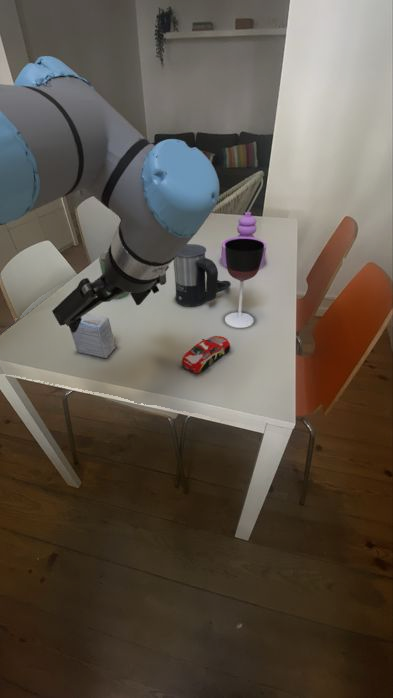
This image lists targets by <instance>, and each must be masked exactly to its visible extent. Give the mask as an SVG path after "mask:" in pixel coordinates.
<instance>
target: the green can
mask: <svg viewBox="0 0 393 698" xmlns="http://www.w3.org/2000/svg"><path fill="white" fill-rule="evenodd" d="M106 254H107V251H105V252H102V253H101V254H100V255H99V257H98V262H99V266H100V270H101V271H100V272H101V275H102V274H103V273H104V261H105V256H106ZM106 292H107V291H106ZM107 294H108V295H110V294H111V293H110V292H107ZM129 294H130V292H126V293H124V294H122V295H118V296H117V297H115V298H114V299H113V300H116V299H117V300H118V299H122V298H125V297H127V296H128V295H129Z"/></svg>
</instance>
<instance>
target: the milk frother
mask: <svg viewBox="0 0 393 698" xmlns="http://www.w3.org/2000/svg"><path fill="white" fill-rule="evenodd" d="M206 252H207V248H206V246H204V245H201V244H196V243H187V244H186V245H185V247H184V248H183V249H182V250H181V251H180V252H179V254H178V255H177V256H176V257H175V258H174V259H173V261H172V262H173V270H174V271H173V272H174V283H175V299H174V300H175V302H176V303H177V304H179V305H180V306H183V307H184V306H185V307H196V306H200V305H203V304H204V303H206V301H207V302H212V301H214V300H215V299H216V298H217V294H218V293H221V292H223V291H225V290H227V289H228V288H230V287H231V285H232V284H231V281H229V280H219V271H218V268H217V265H216V264H215V262H214V261H212V259H210V258H207V257H206Z"/></svg>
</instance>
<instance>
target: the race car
mask: <svg viewBox="0 0 393 698" xmlns="http://www.w3.org/2000/svg"><path fill="white" fill-rule="evenodd" d="M230 349H231V343H230V341H229V340H228V338H227V337H224V336H220V335H213V336H211V337H208V338H206V339H205V338H202V339H201V341H200V342H198V343H196V344H195V345H194V346H193V347H192V348H191V349H189V350H188V351H187V352H186V353H185V354H184V355H183V356H182V359H181V367H182V368H184V369H185V370H187V371H188V372H190V373H193V374H198V373H201V372H205V371H206V370H207V369H208V367H210V366H211V365H212V364H214V363H216V362H217V361H218V360H219V359H220V358H221V357H223V356H224V355H226V354H228V353H229V351H230Z"/></svg>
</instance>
